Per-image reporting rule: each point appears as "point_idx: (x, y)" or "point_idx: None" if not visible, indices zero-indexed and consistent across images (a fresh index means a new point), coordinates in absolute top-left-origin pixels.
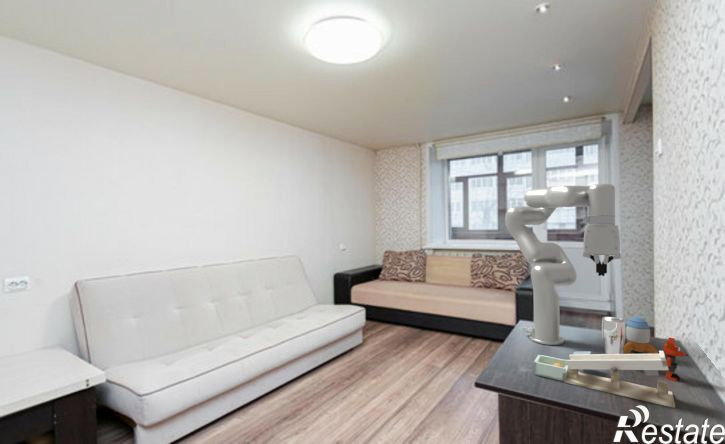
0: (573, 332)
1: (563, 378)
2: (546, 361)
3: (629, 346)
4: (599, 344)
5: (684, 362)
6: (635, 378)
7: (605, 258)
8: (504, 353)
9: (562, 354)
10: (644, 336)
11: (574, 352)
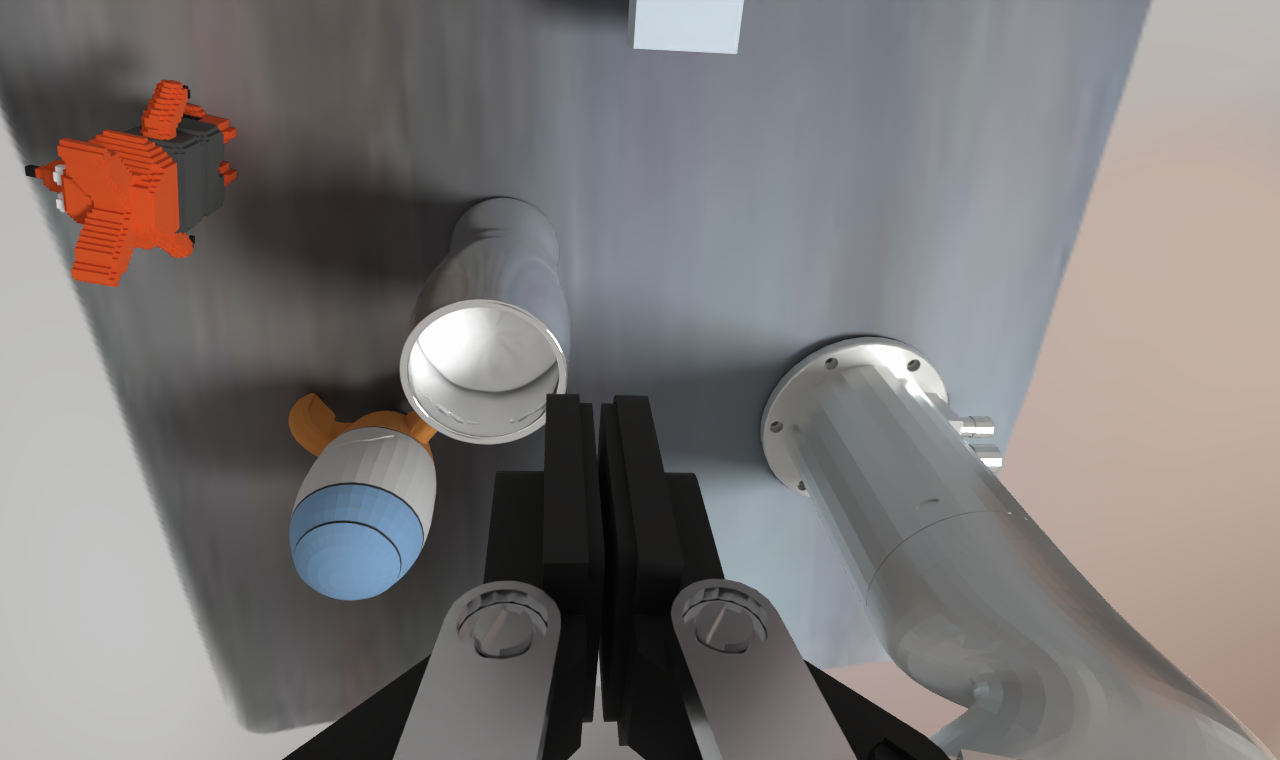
0: None
1: None
2: None
3: None
4: None
5: (187, 444)
6: (380, 15)
7: (495, 735)
8: (1127, 30)
9: (775, 220)
10: (327, 457)
11: (735, 30)
